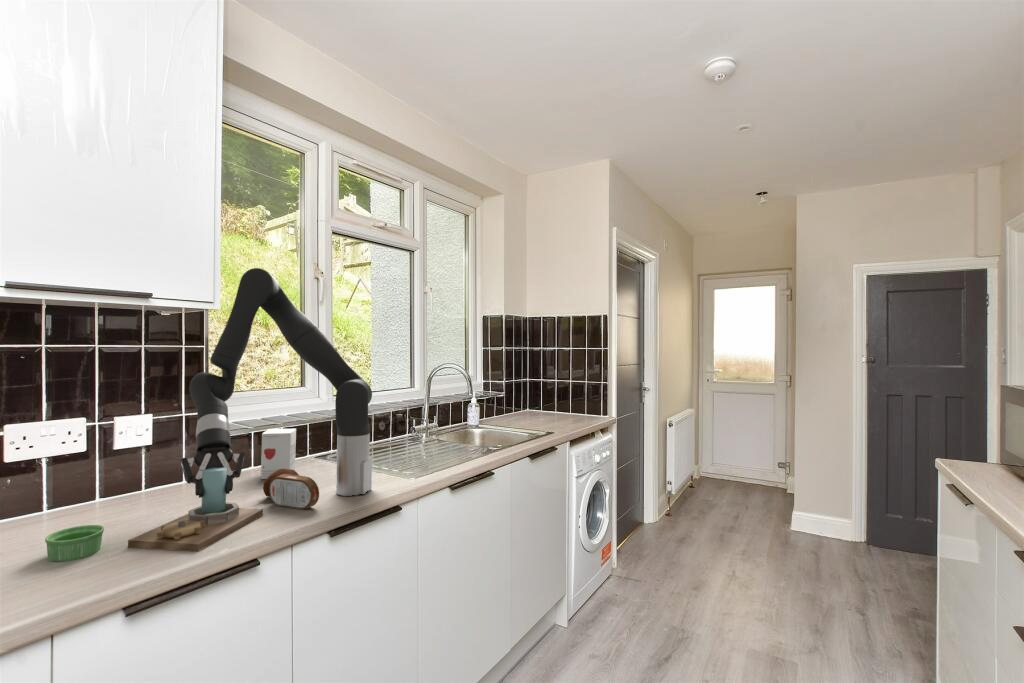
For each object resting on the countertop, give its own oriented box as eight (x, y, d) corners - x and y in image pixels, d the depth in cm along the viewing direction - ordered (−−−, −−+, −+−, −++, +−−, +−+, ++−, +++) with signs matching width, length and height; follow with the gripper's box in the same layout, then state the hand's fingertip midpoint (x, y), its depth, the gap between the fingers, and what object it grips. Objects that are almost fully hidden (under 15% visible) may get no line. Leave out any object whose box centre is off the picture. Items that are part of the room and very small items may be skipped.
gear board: (262, 515, 122) (263, 499, 122) (198, 551, 100) (198, 532, 100) (204, 512, 124) (204, 496, 124) (127, 547, 102) (128, 528, 102)
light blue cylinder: (230, 506, 118) (231, 467, 118) (215, 513, 113) (216, 472, 113) (211, 505, 119) (212, 466, 119) (196, 512, 114) (197, 472, 114)
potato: (309, 492, 142) (309, 465, 142) (276, 503, 132) (276, 474, 132) (290, 488, 145) (291, 462, 145) (256, 499, 135) (257, 471, 135)
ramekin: (35, 566, 93) (35, 544, 93) (57, 548, 101) (57, 527, 101) (93, 559, 96) (94, 537, 96) (110, 542, 105) (110, 522, 105)
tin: (319, 508, 128) (320, 477, 128) (311, 512, 125) (311, 480, 125) (275, 502, 133) (276, 471, 133) (266, 505, 130) (266, 474, 130)
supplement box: (259, 479, 154) (260, 433, 155) (267, 472, 163) (267, 428, 163) (290, 478, 156) (291, 432, 157) (295, 471, 165) (296, 428, 165)
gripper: (179, 429, 118) (178, 490, 108) (246, 424, 127) (250, 481, 116) (179, 446, 123) (177, 507, 113) (243, 441, 131) (247, 497, 121)
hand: (214, 493), depth 115 cm, fingers closed on light blue cylinder, 5 cm apart
